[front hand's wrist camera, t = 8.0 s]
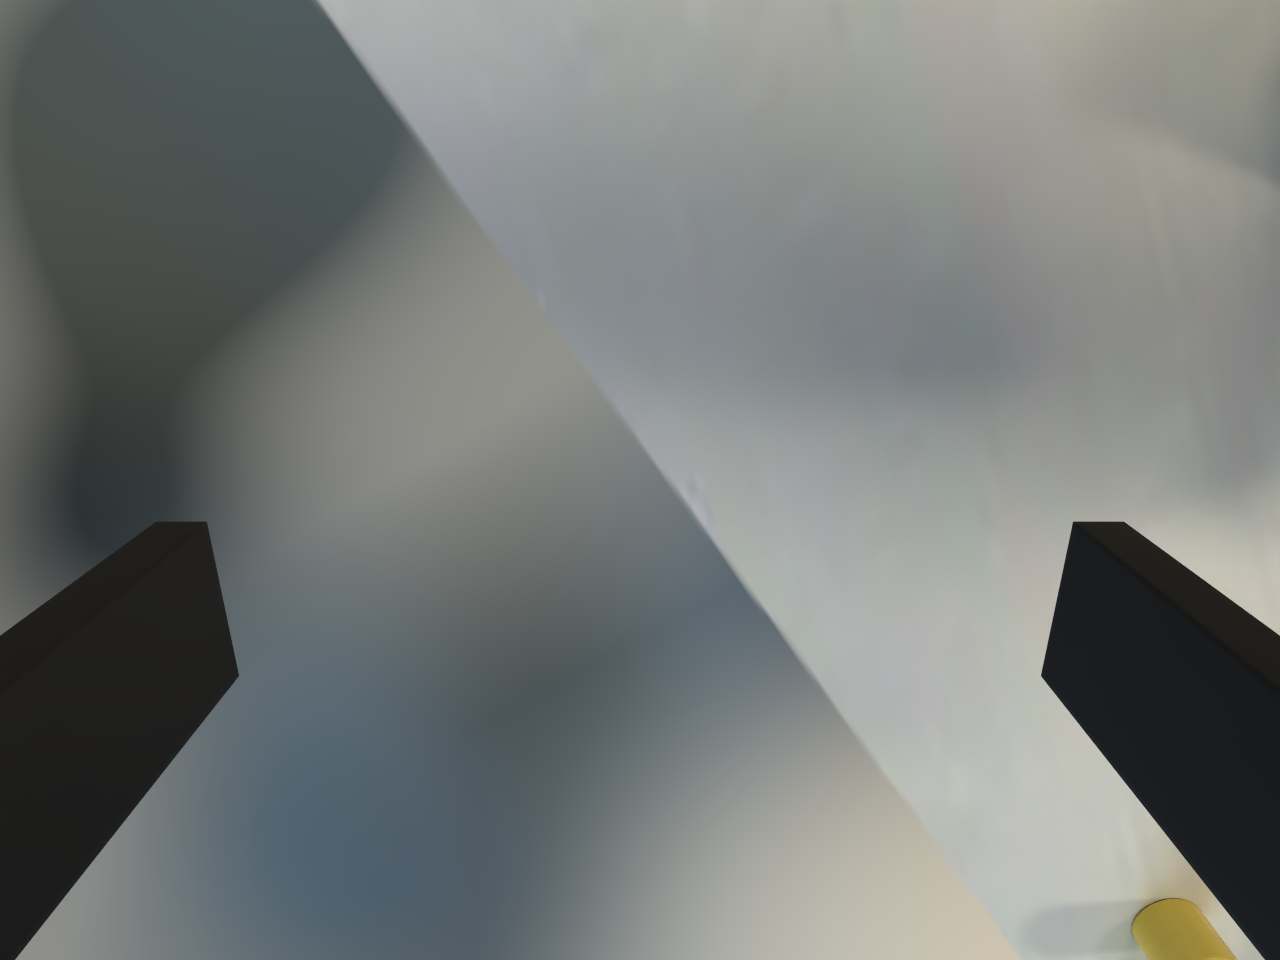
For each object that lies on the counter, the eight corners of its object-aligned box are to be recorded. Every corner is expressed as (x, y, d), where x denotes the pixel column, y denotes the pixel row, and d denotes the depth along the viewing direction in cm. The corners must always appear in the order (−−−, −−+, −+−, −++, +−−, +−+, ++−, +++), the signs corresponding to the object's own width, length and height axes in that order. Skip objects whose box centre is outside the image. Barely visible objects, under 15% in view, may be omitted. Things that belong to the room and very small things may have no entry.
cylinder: (1148, 893, 60) (1189, 953, 56) (1213, 903, 61) (1260, 963, 56) (1120, 943, 62) (1159, 1006, 58) (1184, 952, 63) (1227, 1014, 58)
